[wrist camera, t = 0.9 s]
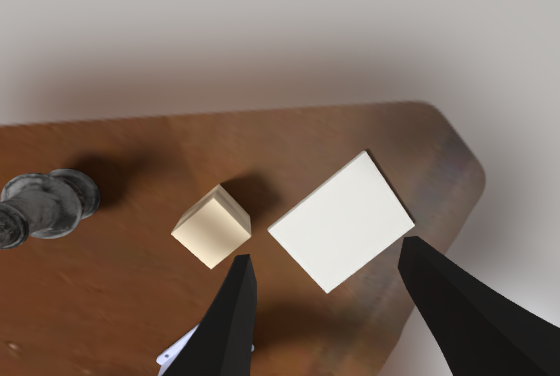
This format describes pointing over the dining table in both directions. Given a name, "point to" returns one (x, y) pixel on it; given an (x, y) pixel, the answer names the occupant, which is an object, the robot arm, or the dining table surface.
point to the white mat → (342, 223)
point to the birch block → (213, 227)
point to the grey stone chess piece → (45, 205)
